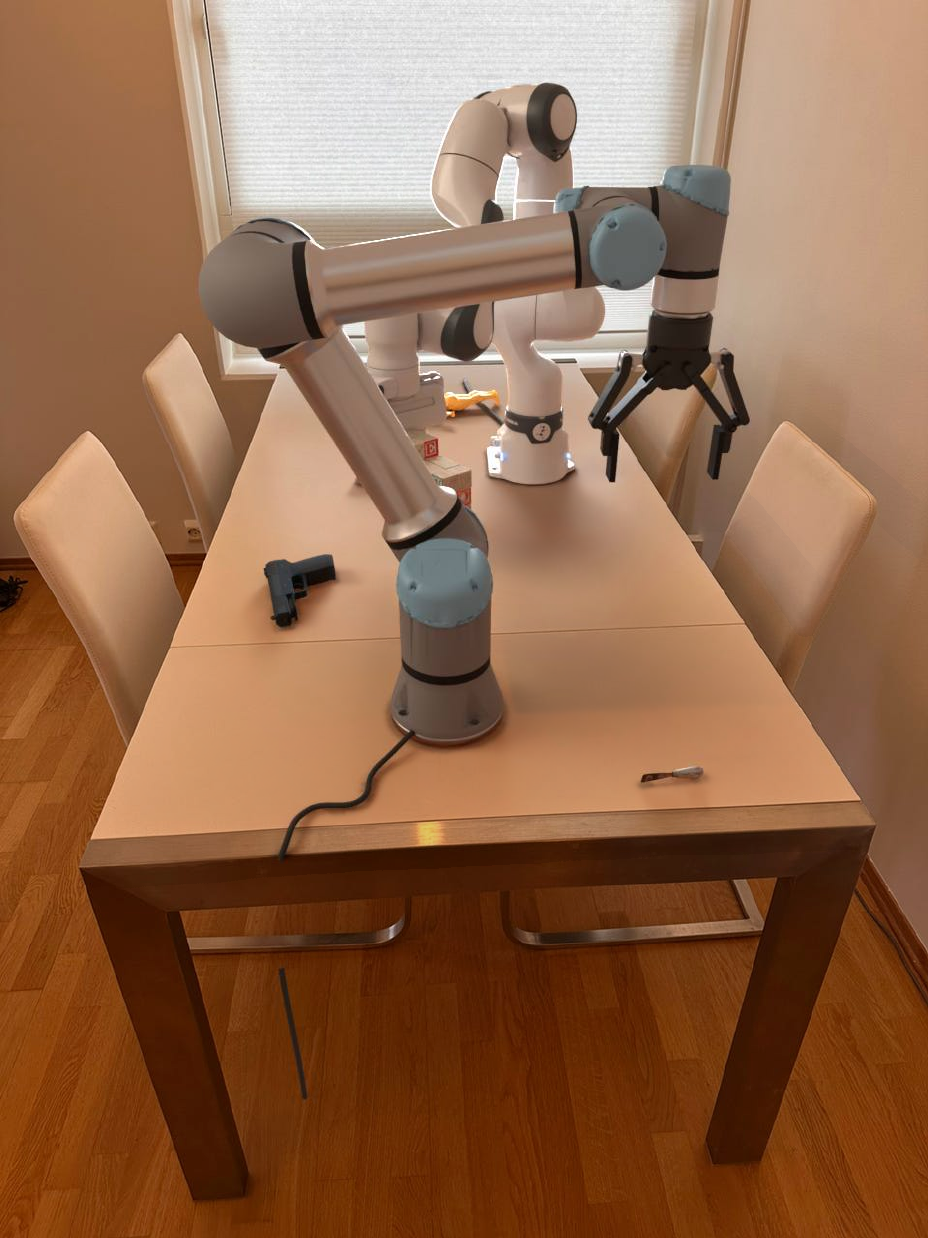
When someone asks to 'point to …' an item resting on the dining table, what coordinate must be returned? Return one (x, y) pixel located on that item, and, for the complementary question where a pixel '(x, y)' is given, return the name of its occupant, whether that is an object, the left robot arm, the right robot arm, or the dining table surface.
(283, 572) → the handgun
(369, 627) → the dining table surface
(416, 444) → the stack of blocks
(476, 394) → the human figure
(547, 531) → the dining table surface
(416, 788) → the dining table surface
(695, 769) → the putty knife
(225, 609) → the dining table surface
